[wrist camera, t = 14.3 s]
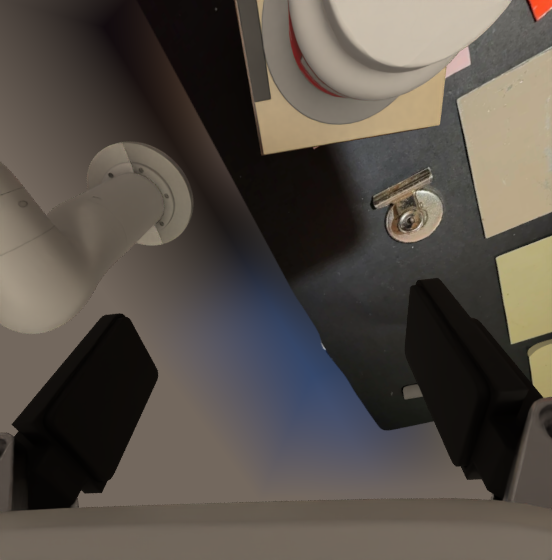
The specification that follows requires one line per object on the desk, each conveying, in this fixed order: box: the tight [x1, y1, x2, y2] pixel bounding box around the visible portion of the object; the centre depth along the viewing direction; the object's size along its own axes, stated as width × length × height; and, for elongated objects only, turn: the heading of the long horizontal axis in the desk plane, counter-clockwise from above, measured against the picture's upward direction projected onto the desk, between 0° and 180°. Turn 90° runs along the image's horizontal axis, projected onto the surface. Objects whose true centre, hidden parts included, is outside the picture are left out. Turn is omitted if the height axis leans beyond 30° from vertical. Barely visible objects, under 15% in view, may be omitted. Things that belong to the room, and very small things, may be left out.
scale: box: [237, 0, 446, 154], centre depth 17 cm, size 11×11×4 cm
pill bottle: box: [288, 0, 512, 101], centre depth 11 cm, size 6×6×11 cm
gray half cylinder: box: [403, 384, 423, 399], centre depth 74 cm, size 4×20×2 cm, turn 110°
